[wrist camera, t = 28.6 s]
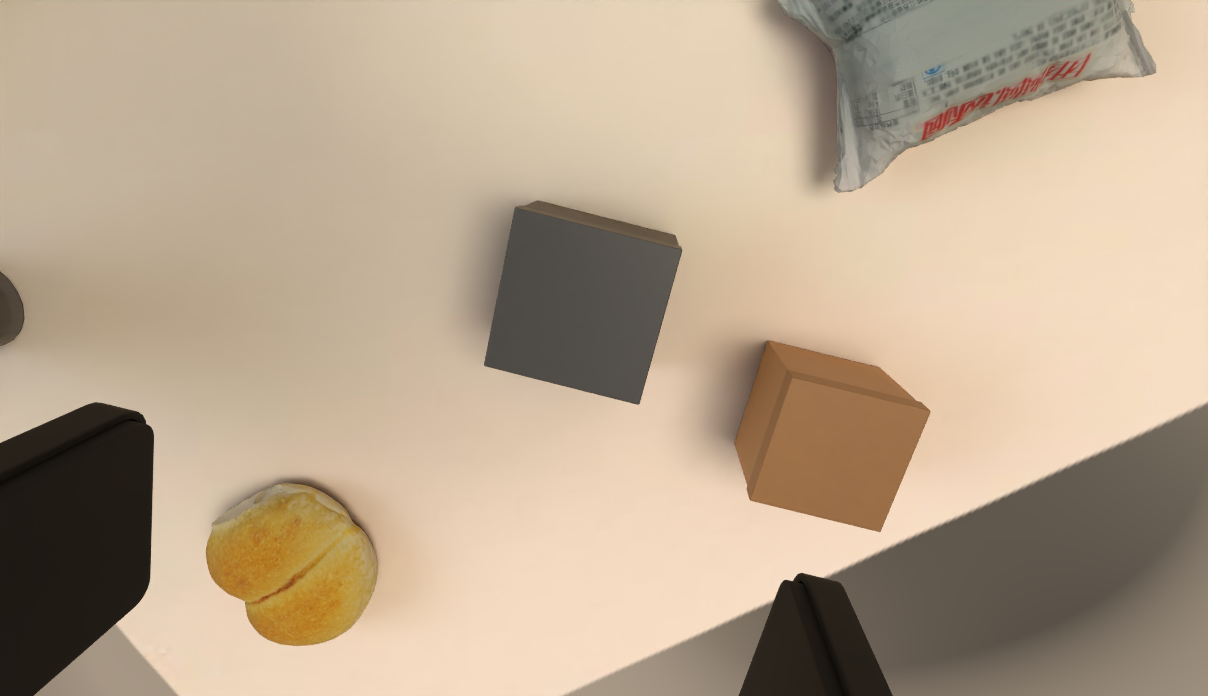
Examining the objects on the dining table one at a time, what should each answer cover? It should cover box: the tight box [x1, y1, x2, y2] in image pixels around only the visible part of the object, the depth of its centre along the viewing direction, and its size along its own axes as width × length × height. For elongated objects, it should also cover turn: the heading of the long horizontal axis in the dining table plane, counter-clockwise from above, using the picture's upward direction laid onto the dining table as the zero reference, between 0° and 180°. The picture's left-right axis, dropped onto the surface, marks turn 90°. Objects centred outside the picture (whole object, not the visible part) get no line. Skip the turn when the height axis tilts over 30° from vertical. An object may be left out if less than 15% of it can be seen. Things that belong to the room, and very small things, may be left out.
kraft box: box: [735, 341, 930, 532], centre depth 29 cm, size 6×6×6 cm
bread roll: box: [206, 483, 377, 646], centre depth 34 cm, size 8×9×4 cm
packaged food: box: [778, 0, 1156, 193], centre depth 24 cm, size 9×12×5 cm
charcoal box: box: [484, 201, 682, 405], centre depth 28 cm, size 7×7×5 cm
